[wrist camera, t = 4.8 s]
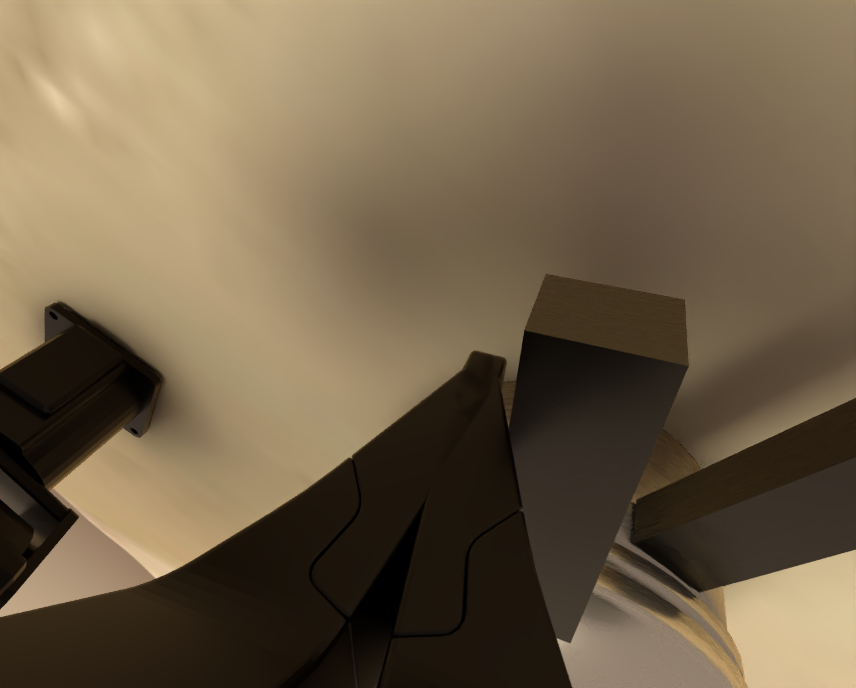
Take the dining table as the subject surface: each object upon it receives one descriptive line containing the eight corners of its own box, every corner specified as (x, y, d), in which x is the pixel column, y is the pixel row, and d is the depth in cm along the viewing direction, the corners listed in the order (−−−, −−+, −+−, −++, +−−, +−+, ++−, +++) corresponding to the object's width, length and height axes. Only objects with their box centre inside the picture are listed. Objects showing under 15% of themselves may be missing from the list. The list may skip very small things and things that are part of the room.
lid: (648, 814, 19) (647, 904, 18) (352, 680, 23) (324, 743, 21) (1177, 382, 6) (1410, 573, 4) (259, 215, 9) (159, 278, 8)
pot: (527, 626, 27) (499, 758, 22) (337, 489, 26) (269, 600, 21) (1115, 447, 12) (1379, 730, 8) (727, 110, 11) (770, 210, 7)
